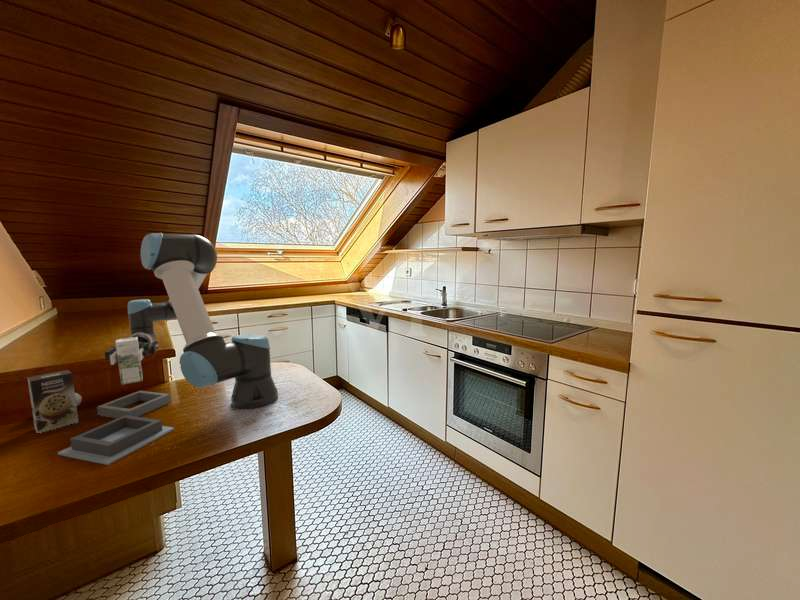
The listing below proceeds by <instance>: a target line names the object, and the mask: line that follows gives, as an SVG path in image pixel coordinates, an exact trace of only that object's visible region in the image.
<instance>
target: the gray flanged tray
mask: <svg viewBox="0 0 800 600" xmlns="http://www.w3.org/2000/svg"><path fill="white" fill-rule="evenodd" d="M174 430H175V427H172V426H165V425H163V424H162V419H154V418H150V417H149V418H147V417H141V416H139V417H136V416H129V415H124V416H122V417H120V418H117V419H116V418H114V419H113V420H111V421H108V422H107V423H104V424H101V425H99V426H96V427H94V428H92V429H89V430H87V431H85V432H82V433H80V434H78V435H76V436H73V437H71V438H69V439H70V446H69V447H67V448H64V449H62V450H60V451H57V456H62V457H66V458H72V459H77V460H80V461H81V460H82V461H87V462H92V463H96V464H100V465H105V466H106V465H107V466H109V465H110V464H113V463H114V462H116V461H119V460H120V459H123V458H124V457H126V456H127V455H129V454H131V453H133V452H135V451H136V450H139V449H141V448H143V447H144V446H146V445H148V444H150V443H151V442H154V441H155V440H157V439H159V438H161V437H163V436H165V435H167V434H168V433H170V432H172V431H174Z"/></svg>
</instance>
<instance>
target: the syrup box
mask: <svg viewBox="0 0 800 600" xmlns="http://www.w3.org/2000/svg"><path fill="white" fill-rule="evenodd" d="M130 337H131V336H130ZM130 337H126V338H125V337H124V338H117V339H116V340H115V346H116V350H117V357H118V361H117V364H118V371H119V377H120V384H121V386H124V385H128V384H129V385H130V384H134V383H140V382H143V379H144V378H143V368H142V362H141V361H142V360H141V361H138V355H137V353H138V351H139V343H138V337H131V338H130Z"/></svg>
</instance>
